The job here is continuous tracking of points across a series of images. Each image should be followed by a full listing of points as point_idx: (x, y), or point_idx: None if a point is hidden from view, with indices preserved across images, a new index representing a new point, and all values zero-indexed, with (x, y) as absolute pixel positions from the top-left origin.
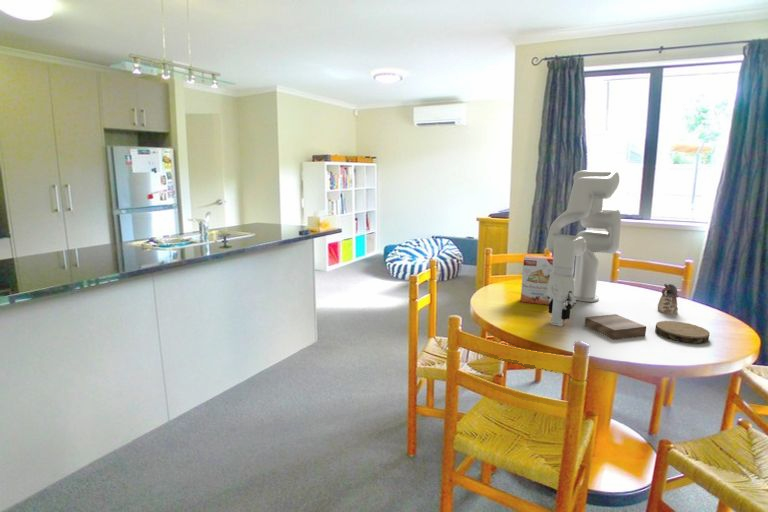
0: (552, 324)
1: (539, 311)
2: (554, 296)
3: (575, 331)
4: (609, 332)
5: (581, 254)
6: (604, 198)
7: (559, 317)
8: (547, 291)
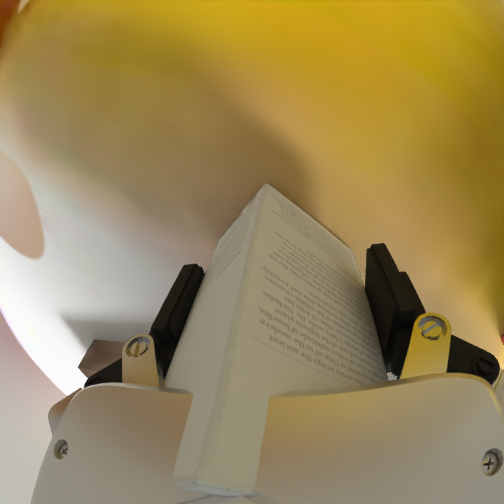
0: (259, 191)
1: (499, 248)
2: (191, 448)
3: (145, 270)
4: (98, 357)
5: None
6: None
7: (215, 260)
8: (496, 443)
